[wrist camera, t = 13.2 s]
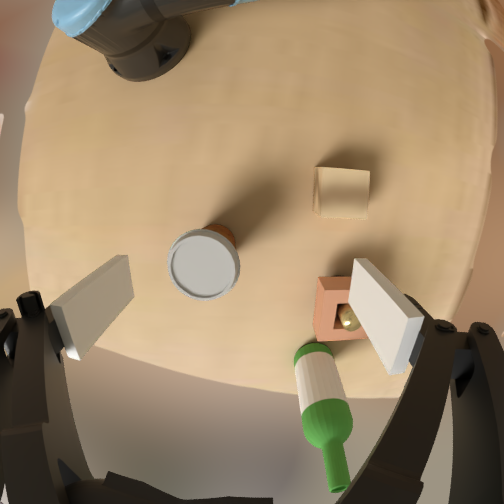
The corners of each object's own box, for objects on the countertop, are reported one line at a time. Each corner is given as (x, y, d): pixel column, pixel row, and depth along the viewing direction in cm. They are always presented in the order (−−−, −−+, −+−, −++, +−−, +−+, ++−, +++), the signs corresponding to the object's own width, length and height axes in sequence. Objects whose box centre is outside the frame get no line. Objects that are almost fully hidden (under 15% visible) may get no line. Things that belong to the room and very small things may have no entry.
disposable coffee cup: (252, 224, 43) (249, 245, 32) (235, 277, 46) (227, 313, 35) (196, 206, 43) (173, 221, 31) (182, 260, 45) (158, 290, 34)
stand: (314, 167, 40) (322, 166, 34) (356, 170, 40) (369, 171, 34) (312, 211, 42) (320, 217, 36) (353, 212, 42) (367, 219, 36)
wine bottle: (334, 362, 51) (371, 487, 23) (299, 373, 52) (316, 502, 24) (326, 335, 49) (368, 471, 20) (288, 347, 50) (303, 488, 22)
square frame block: (318, 276, 42) (324, 290, 37) (369, 276, 42) (380, 289, 37) (312, 324, 45) (317, 341, 40) (360, 322, 45) (369, 338, 40)
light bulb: (320, 275, 45) (333, 303, 36) (357, 275, 45) (378, 301, 36) (316, 311, 47) (327, 343, 38) (352, 310, 47) (369, 340, 38)
